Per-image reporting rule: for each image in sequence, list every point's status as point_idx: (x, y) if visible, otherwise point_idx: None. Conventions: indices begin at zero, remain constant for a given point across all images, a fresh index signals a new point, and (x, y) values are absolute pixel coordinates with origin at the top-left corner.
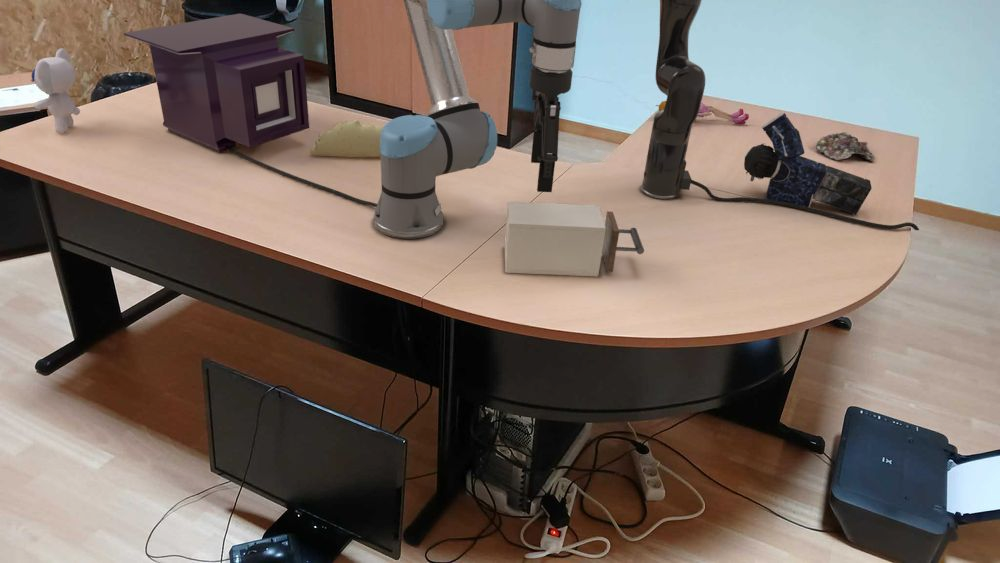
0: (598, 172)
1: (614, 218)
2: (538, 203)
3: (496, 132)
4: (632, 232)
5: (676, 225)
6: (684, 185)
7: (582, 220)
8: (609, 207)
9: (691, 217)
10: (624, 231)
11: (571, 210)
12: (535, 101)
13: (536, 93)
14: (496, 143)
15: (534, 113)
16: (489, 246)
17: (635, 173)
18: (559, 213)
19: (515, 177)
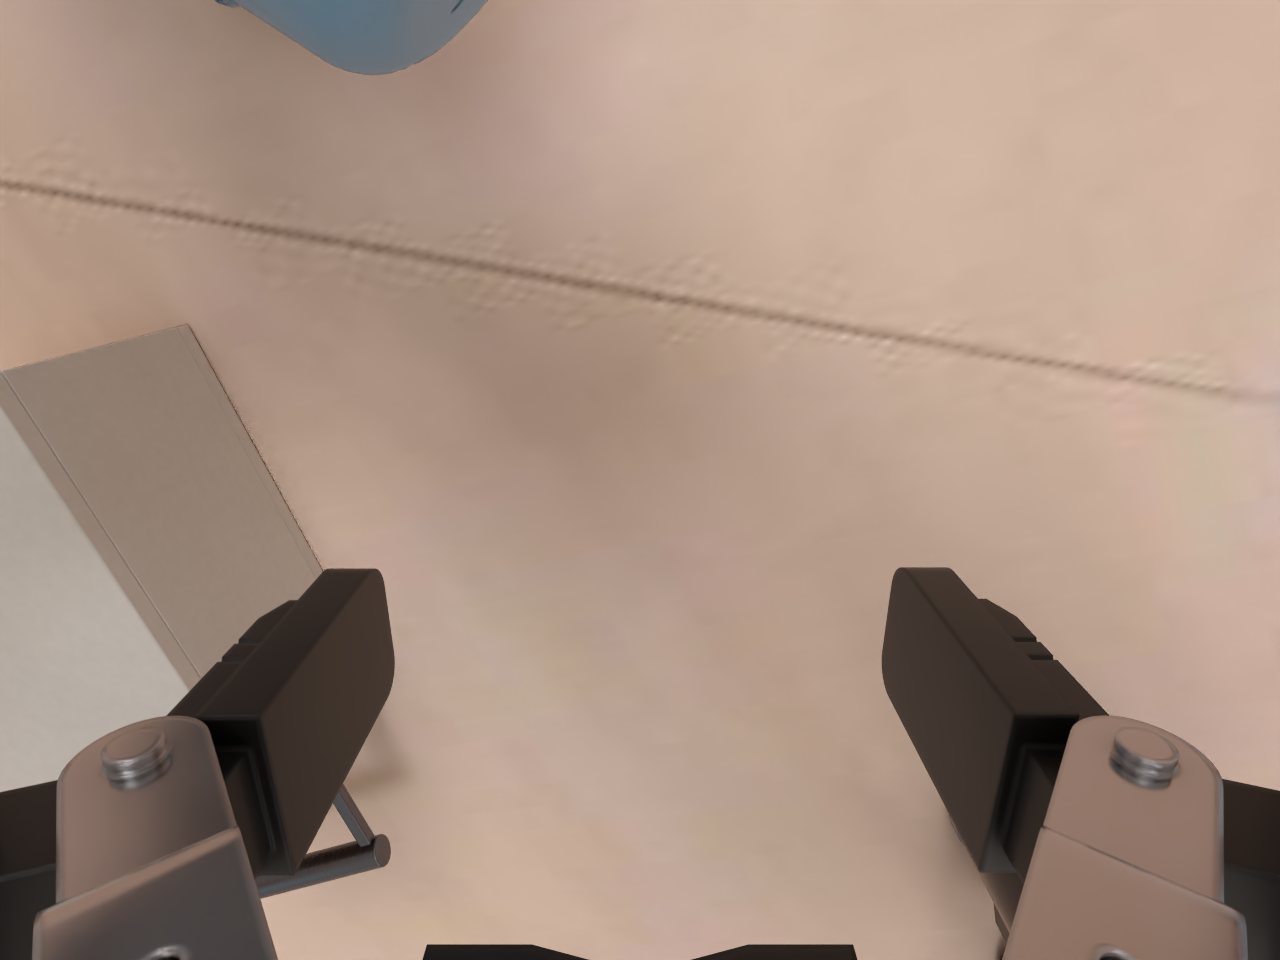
0: (1193, 540)
1: None
2: (80, 550)
3: (343, 19)
4: (341, 860)
5: (732, 869)
6: (1003, 922)
7: (55, 779)
8: (799, 647)
9: (820, 903)
10: (349, 828)
11: (123, 717)
12: (197, 720)
13: (66, 871)
14: (352, 68)
15: (307, 595)
16: (166, 250)
17: (1213, 690)
18: (46, 674)
19: (1020, 125)
